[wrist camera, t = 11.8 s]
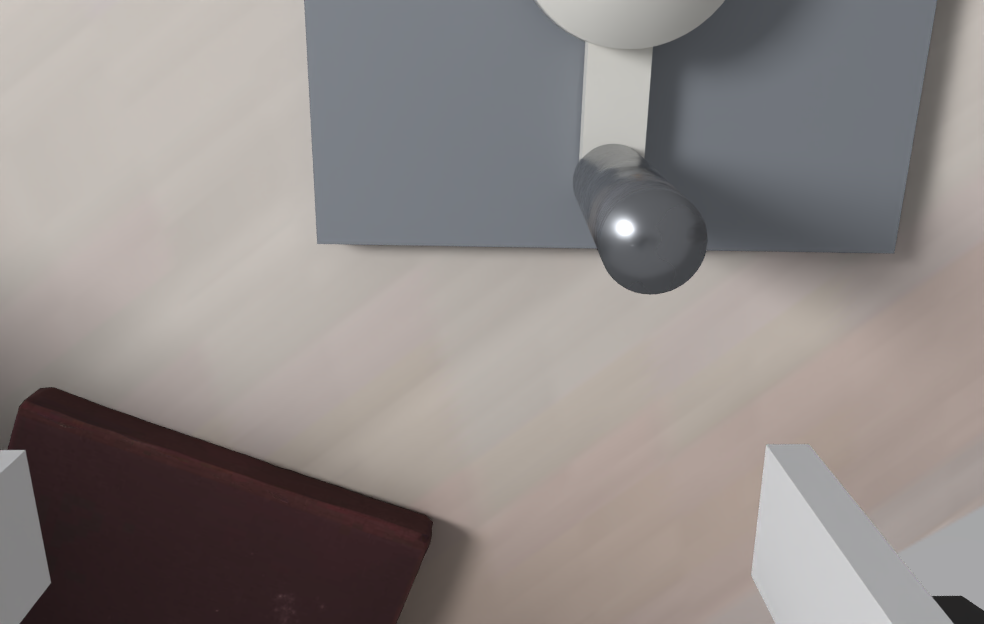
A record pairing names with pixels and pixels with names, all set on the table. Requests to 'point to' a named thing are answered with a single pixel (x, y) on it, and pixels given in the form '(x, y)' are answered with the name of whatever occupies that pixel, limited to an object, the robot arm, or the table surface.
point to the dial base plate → (557, 122)
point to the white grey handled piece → (630, 141)
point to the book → (200, 529)
